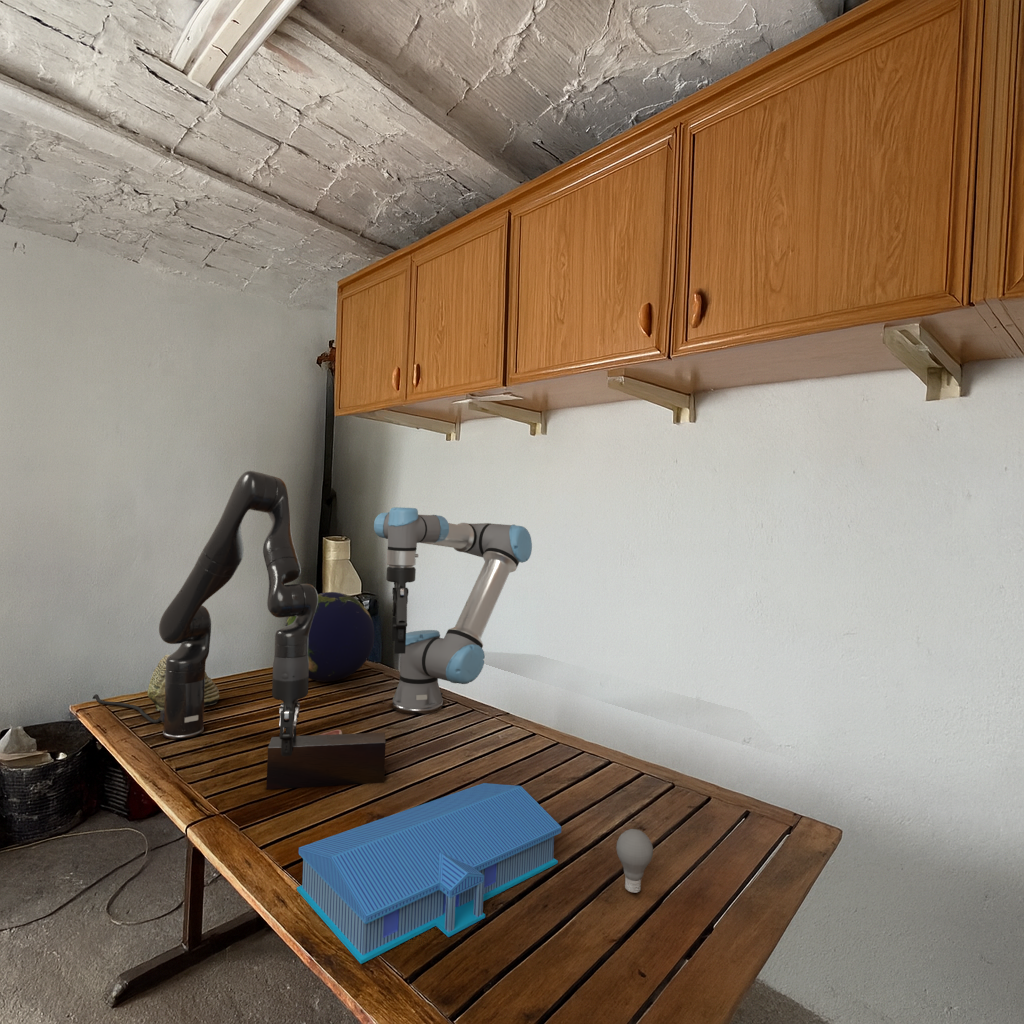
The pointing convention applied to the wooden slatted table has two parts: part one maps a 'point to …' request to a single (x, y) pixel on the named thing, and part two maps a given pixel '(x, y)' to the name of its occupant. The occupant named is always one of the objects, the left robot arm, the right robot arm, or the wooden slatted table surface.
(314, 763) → the box
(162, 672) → the fossil
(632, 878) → the light bulb
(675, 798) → the wooden slatted table surface
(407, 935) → the model building
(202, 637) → the left robot arm
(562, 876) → the wooden slatted table surface
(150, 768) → the wooden slatted table surface
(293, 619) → the globe
